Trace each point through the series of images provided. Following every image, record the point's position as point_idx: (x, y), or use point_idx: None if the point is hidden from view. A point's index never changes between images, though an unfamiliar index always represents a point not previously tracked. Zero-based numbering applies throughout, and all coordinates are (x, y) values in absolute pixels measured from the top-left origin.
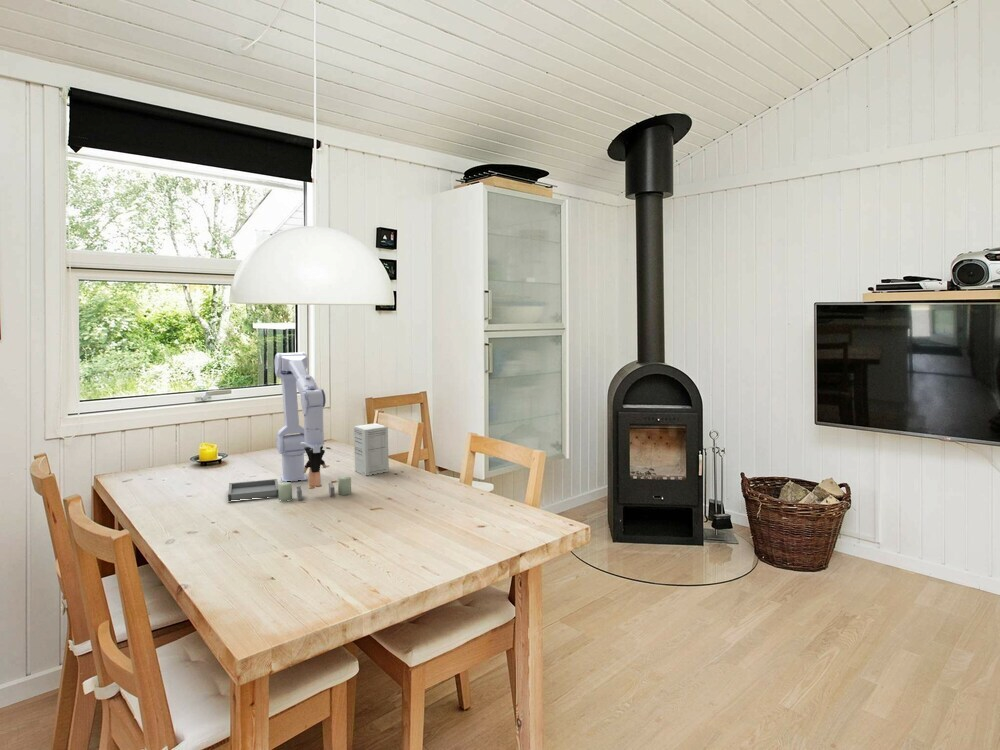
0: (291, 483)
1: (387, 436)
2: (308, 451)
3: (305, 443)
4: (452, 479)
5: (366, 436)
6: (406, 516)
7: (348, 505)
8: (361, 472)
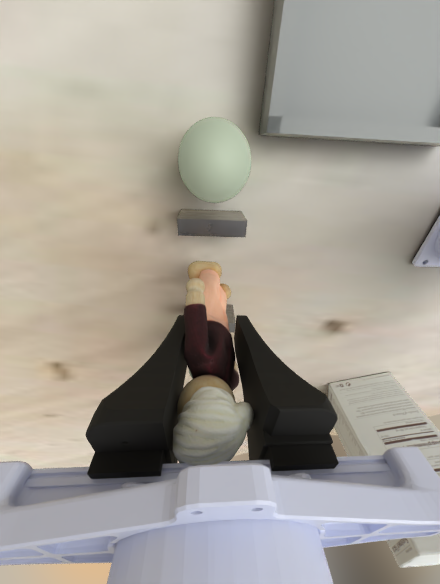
0: (209, 200)
1: None
2: (98, 435)
3: (161, 524)
4: None
5: None
6: (4, 401)
7: (94, 331)
8: (353, 382)
